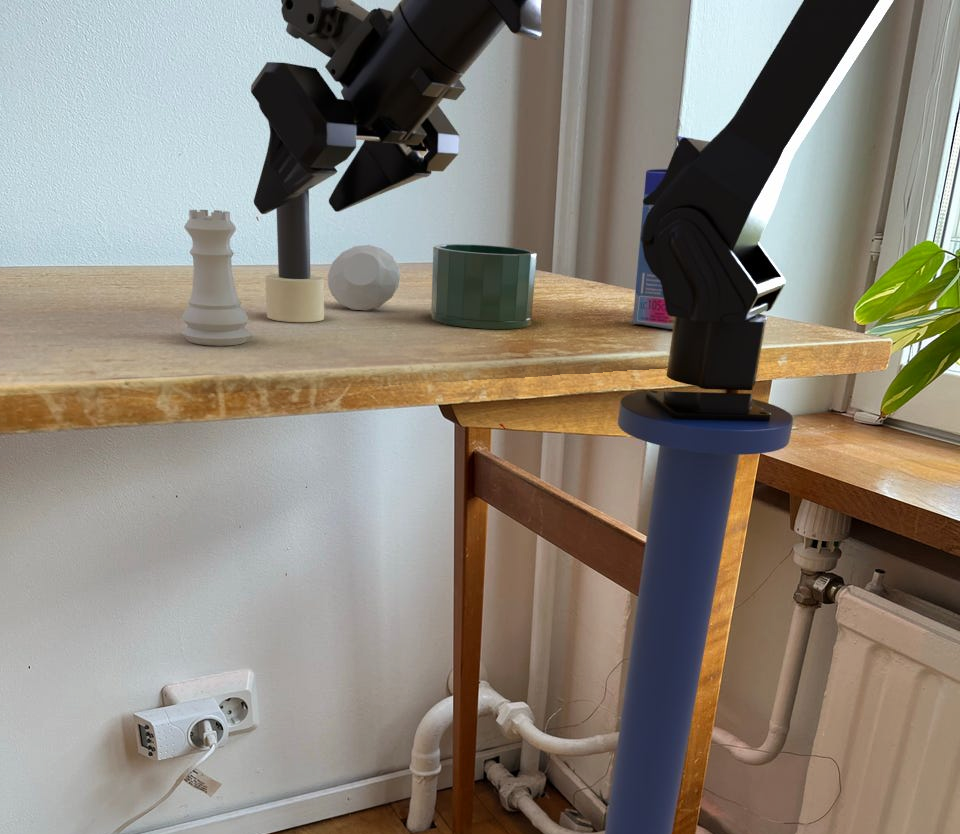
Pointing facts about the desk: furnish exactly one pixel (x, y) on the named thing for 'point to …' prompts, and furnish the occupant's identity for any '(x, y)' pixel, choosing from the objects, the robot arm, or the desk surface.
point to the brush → (294, 268)
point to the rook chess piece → (213, 283)
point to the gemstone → (363, 277)
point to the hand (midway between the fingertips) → (297, 207)
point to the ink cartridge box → (647, 284)
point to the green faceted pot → (483, 286)
